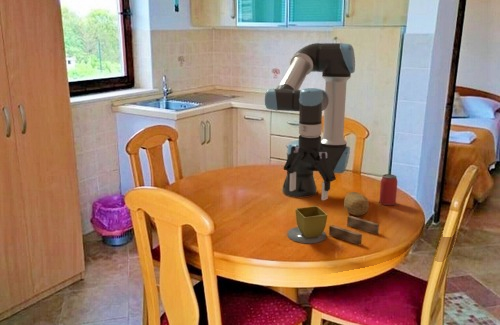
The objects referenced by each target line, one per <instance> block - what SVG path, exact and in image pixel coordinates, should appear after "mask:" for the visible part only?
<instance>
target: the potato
mask: <svg viewBox="0 0 500 325" xmlns="http://www.w3.org/2000/svg"><path fill="white" fill-rule="evenodd" d="M343 207H344V209H345V210H346V211H347V212H348V213H349V214H351V215H354V216H362V215H364V214H366V213H367V212H368V210H369V208H370V203H369V201H368V197H366V196H365V195H363V194H361V193H359V192H358V191H353V192H352V191H351V192H350V191H349V193H347V194H346V195H345V198H344V201H343Z"/></svg>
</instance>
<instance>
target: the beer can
mask: <svg viewBox="0 0 500 325" xmlns="http://www.w3.org/2000/svg"><path fill="white" fill-rule="evenodd" d="M397 189H398V178H397V175H395V174H392V173H386V174H383V175H382V178H381V179H380V189H379V190H380V191H379V203H380V204H381V205H384V206H386V207H387V206H388V207H389V206H395V205H396V203H397V192H398V190H397Z"/></svg>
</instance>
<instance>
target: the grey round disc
mask: <svg viewBox="0 0 500 325" xmlns="http://www.w3.org/2000/svg"><path fill="white" fill-rule="evenodd" d="M286 232H287V233H286V236H287V238H288V239H289V240H290V241H293V242H295V243H300V244H309V245H310V244H317V243H321V242H323V241H325V240H326V239H327V233H326V231H325V230H324V231H323V233H322V234H321V235H320V236H319V237H312V238H306V237H305V236H304V235H303V234H302V233H301V232H300V230H299V228H298V226H296V227H293V228H290V229H288V231H286Z"/></svg>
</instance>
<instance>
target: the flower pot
mask: <svg viewBox="0 0 500 325" xmlns="http://www.w3.org/2000/svg"><path fill="white" fill-rule="evenodd" d="M294 210H295V221H296V225H297V227H298V228H299V230H300V232H301V233H302V234H303V235H304V236H305V237H306V238H312V237H319V236H320V235H321V234H322V233H323V231H324V232H325V228H326V224H327V220H328V213H326V211H324V210H323V209H322V208H320V207H319V206H317V205H315V206H314V205H313V206H305V207H296V208H294Z"/></svg>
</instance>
